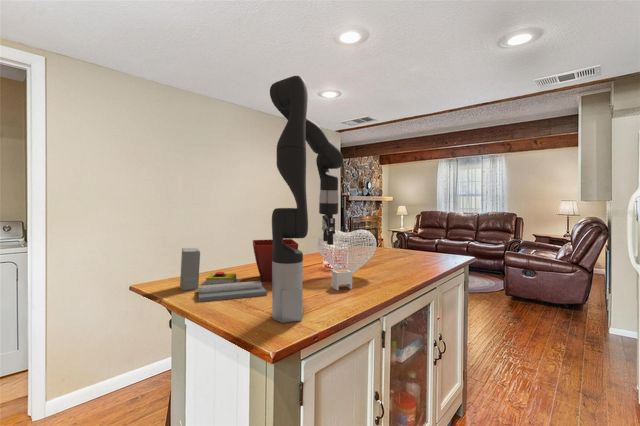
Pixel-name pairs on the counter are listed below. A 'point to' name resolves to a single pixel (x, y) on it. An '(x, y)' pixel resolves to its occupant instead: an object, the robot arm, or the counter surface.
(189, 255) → the skincare box
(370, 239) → the heart
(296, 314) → the robot arm
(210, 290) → the rail
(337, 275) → the block
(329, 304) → the counter surface
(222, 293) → the rail board
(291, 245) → the plant pot
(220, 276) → the emergency button
